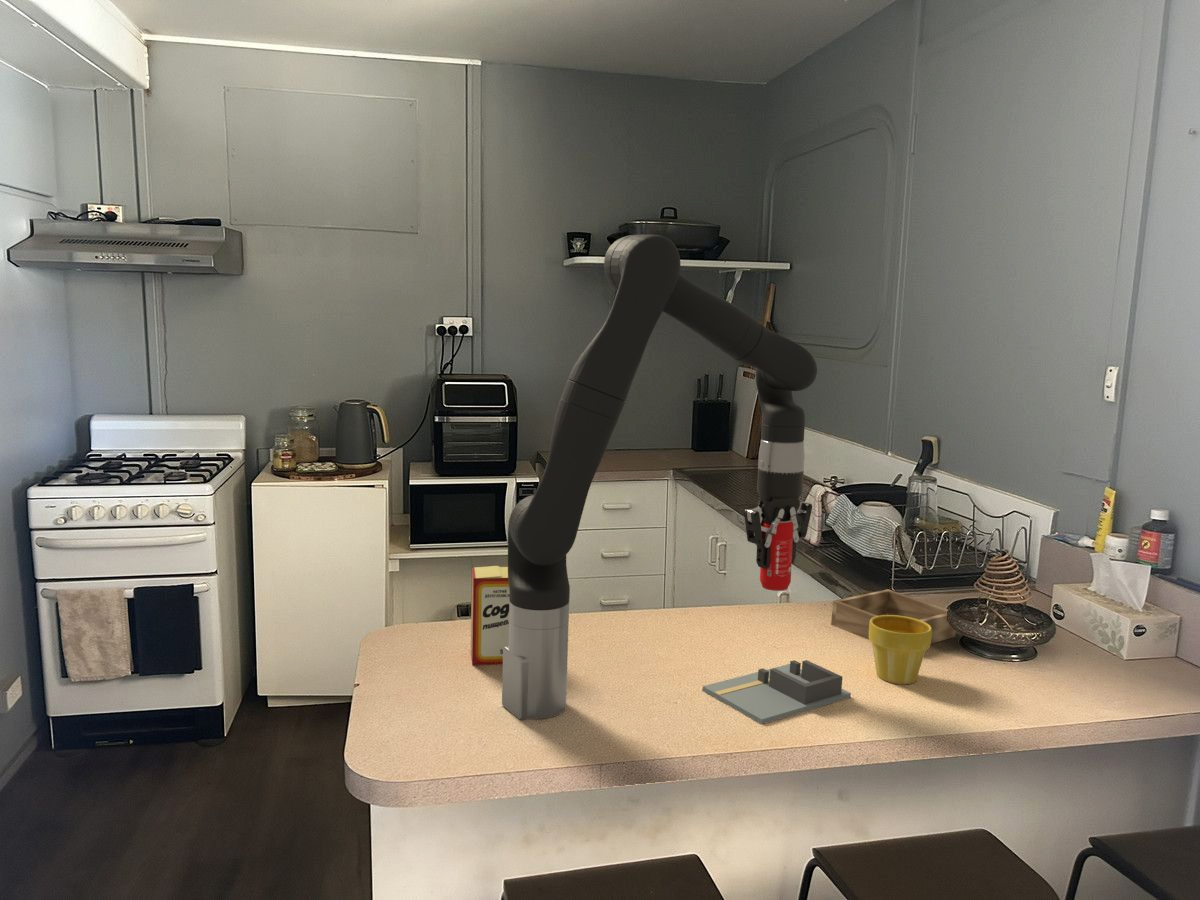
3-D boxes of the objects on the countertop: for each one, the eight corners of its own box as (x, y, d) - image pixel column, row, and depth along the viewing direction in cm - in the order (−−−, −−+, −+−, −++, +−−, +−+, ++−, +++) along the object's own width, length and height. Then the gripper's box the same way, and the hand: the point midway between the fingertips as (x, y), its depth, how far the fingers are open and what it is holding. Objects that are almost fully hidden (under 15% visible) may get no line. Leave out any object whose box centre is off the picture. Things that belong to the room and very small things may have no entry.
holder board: (761, 724, 138) (762, 700, 137) (702, 690, 149) (703, 668, 148) (850, 697, 149) (852, 675, 148) (789, 668, 160) (790, 647, 159)
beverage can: (782, 593, 150) (785, 523, 148) (754, 587, 153) (757, 518, 151) (795, 586, 154) (798, 517, 152) (768, 580, 157) (771, 513, 155)
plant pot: (873, 661, 165) (878, 609, 163) (932, 674, 160) (937, 621, 158) (858, 679, 156) (862, 625, 155) (920, 694, 151) (925, 638, 149)
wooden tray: (899, 652, 170) (901, 626, 169) (831, 624, 184) (832, 600, 183) (955, 636, 179) (957, 612, 178) (885, 611, 193) (887, 589, 192)
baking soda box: (522, 649, 164) (525, 564, 162) (526, 663, 158) (528, 575, 156) (470, 651, 163) (471, 565, 160) (472, 665, 156) (473, 576, 154)
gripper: (765, 474, 143) (760, 577, 146) (827, 466, 151) (822, 564, 154) (733, 466, 149) (729, 565, 152) (795, 460, 157) (790, 554, 160)
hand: (775, 564), depth 153 cm, fingers closed on beverage can, 5 cm apart
